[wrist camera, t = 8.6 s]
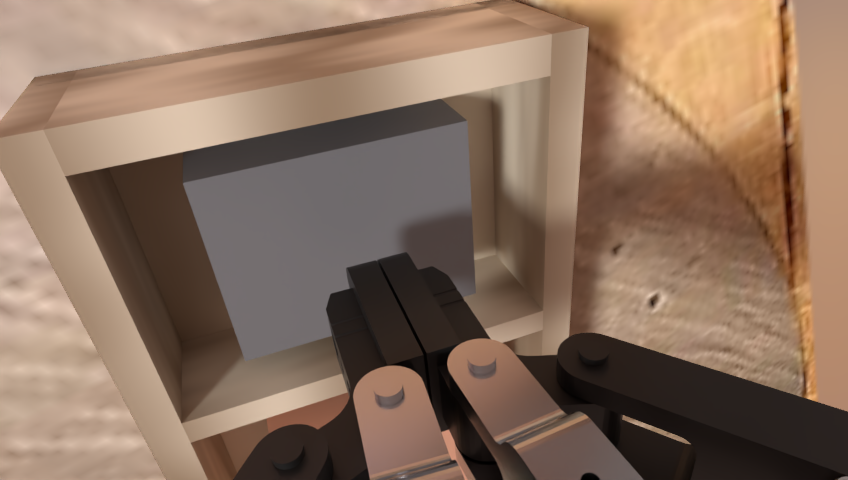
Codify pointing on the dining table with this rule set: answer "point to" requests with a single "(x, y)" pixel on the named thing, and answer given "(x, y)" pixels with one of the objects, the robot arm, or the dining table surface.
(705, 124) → the dining table surface
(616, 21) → the dining table surface
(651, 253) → the dining table surface
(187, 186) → the charcoal key
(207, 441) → the wooden compartment tray
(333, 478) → the robot arm
